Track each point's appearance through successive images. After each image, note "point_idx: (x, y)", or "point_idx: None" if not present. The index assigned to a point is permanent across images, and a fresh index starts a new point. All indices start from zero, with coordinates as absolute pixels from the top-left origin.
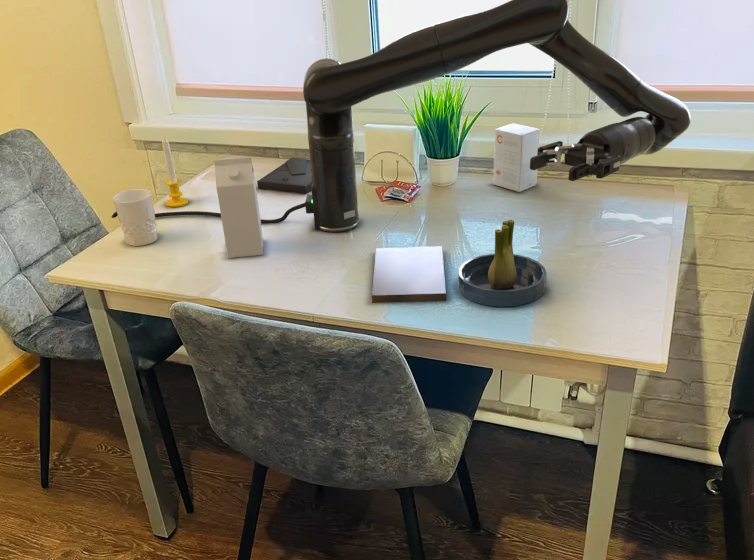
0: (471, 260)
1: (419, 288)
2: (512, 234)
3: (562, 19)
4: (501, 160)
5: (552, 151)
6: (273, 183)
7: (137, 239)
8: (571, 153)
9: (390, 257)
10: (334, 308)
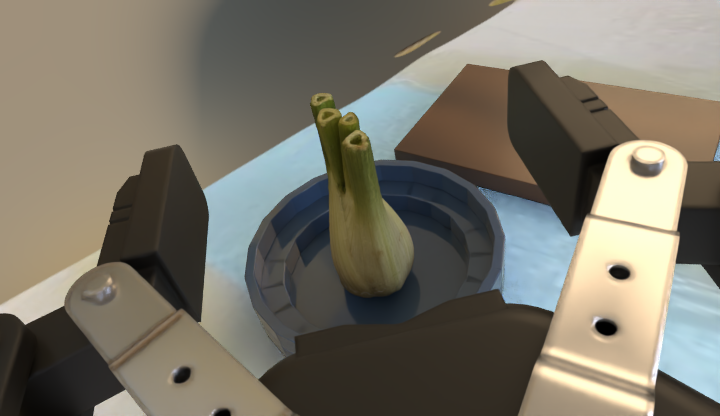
0: (484, 209)
1: (446, 120)
2: (351, 180)
3: None
4: None
5: (607, 193)
6: None
7: None
8: (461, 320)
9: (649, 114)
10: (481, 42)
